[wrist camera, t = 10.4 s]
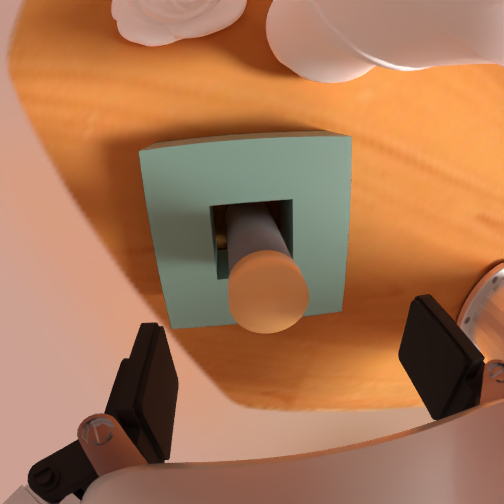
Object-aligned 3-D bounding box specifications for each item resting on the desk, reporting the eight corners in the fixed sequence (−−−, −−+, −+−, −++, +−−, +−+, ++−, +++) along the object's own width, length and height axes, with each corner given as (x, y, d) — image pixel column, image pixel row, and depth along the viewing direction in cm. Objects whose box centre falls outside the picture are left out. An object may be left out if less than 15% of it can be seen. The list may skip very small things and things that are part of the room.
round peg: (270, 192, 23) (310, 262, 13) (272, 236, 24) (307, 328, 14) (222, 196, 23) (224, 270, 13) (226, 241, 24) (232, 337, 14)
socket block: (327, 130, 21) (351, 136, 17) (324, 280, 26) (341, 311, 22) (154, 143, 20) (138, 151, 16) (177, 294, 26) (171, 329, 21)
